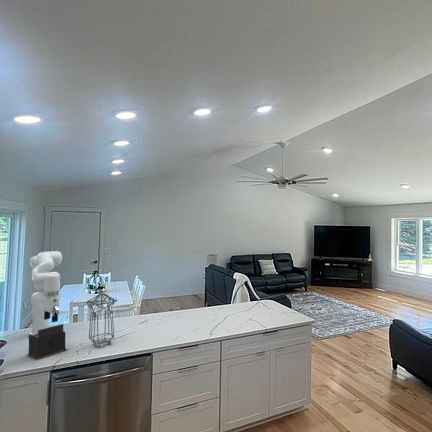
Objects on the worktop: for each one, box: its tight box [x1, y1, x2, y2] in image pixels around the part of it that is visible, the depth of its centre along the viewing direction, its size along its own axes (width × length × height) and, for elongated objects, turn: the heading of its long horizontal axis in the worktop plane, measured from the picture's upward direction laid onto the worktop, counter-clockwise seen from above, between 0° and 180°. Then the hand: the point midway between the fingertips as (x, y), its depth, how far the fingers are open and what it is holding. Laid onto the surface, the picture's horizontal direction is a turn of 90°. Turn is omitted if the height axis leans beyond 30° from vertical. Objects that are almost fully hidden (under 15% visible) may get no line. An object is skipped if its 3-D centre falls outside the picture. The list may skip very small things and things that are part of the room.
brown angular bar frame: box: [28, 323, 64, 339], centre depth 213 cm, size 13×14×5 cm
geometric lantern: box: [85, 292, 119, 348], centre depth 226 cm, size 16×16×35 cm
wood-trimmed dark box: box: [27, 330, 67, 360], centre depth 212 cm, size 14×16×12 cm
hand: (50, 320), depth 210 cm, fingers open, 9 cm apart
